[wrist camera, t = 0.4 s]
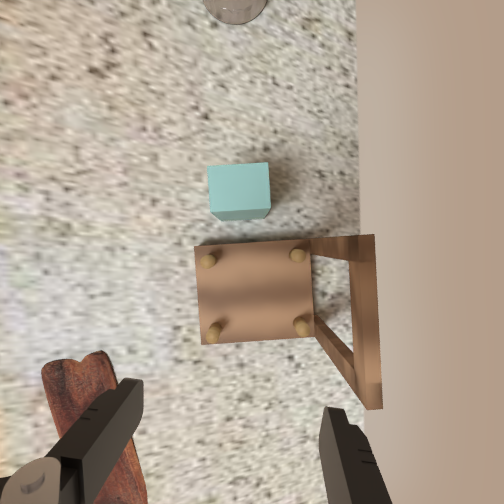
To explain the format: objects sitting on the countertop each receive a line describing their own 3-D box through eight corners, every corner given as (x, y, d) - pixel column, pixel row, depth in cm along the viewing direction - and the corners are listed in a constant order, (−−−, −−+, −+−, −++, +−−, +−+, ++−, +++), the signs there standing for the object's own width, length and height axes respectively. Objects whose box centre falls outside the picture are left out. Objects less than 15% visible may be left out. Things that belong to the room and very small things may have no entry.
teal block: (219, 189, 36) (207, 166, 25) (261, 186, 36) (268, 162, 25) (221, 221, 36) (210, 212, 25) (264, 218, 37) (270, 208, 26)
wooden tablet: (154, 526, 37) (81, 554, 36) (157, 511, 39) (89, 536, 38) (105, 348, 36) (29, 370, 35) (111, 343, 38) (40, 363, 37)
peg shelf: (198, 245, 36) (150, 248, 19) (312, 238, 37) (374, 234, 19) (205, 336, 37) (164, 425, 19) (317, 328, 37) (383, 408, 19)
